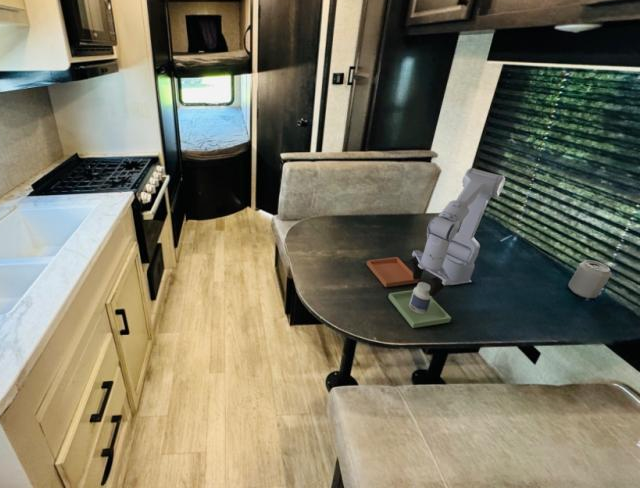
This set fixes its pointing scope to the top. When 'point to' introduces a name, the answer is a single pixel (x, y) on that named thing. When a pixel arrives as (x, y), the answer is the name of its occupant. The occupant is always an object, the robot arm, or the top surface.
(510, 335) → the top surface
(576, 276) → the beige cylinder
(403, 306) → the sage tray
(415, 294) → the pill bottle
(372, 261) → the terracotta tray
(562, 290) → the top surface
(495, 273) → the top surface
